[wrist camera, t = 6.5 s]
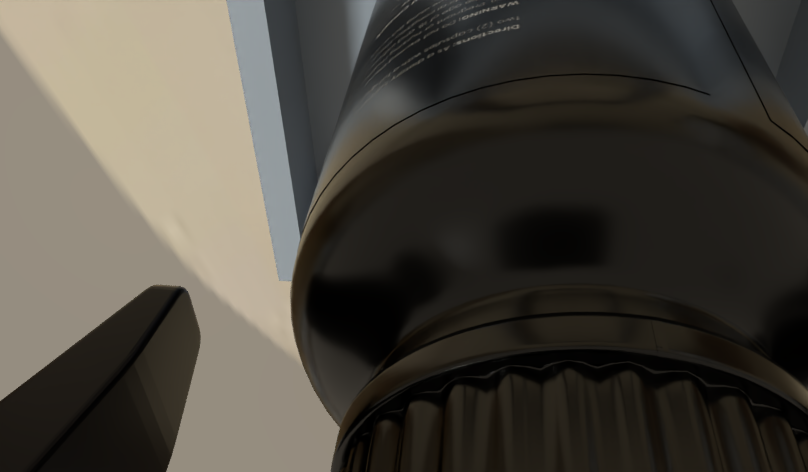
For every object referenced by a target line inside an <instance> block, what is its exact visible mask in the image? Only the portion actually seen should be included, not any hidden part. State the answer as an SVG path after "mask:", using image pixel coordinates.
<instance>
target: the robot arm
mask: <svg viewBox="0 0 808 472" xmlns="http://www.w3.org/2000/svg"><path fill="white" fill-rule="evenodd" d="M200 338H201V336H200V329H199V325H198V322H197V319H196V315H195V312H194V309H193V305H192V302H191V299H190V296H189V293H188V291H187V290H186V289H185V288H184V287H181V286H170V285H153V286H151V287H149V288H148V289H146V290H145V291H143V292H142V293H141V294H140V295H138V296H137V297H135V298H134V299H133V300H132V301H130V302H129V303H128V304H126V305H125V306H124V307H122V308H121V309H120V310H119V311H117V312H116V313H115V314H113V315H112V316H111V317H109V318H108V319H107V320H105V321H104V322H103V323H102V324H100V325H99V326H98V327H96V328H95V329H94V330H93V331H91V332H90V333H88V334H87V335H86V336H85V337H84V338H82V339H81V340H79V341H78V342H77V343H75V344H74V345H73V346H72V347H70V348H69V349H68V350H66V351H65V352H64V353H63V354H61V355H60V356H59V357H57V358H56V359H55V360H53V361H52V362H51V363H50V364H48V365H47V366H45V367H44V368H43V369H42V370H40V371H39V372H38V373H36V374H35V375H34V376H32V377H31V378H30V379H29V380H27V381H26V382H25V383H23V384H22V385H21V386H19V387H18V388H17V389H16V390H14V391H13V392H12V393H10V394H9V395H8V396H6V397H5V398H4V399H2V400H1V401H0V472H166V470H167V468H168V465H169V462H170V459H171V456H172V453H173V449H174V445H175V442H176V438H177V435H178V430H179V427H180V423H181V419H182V414H183V411H184V407H185V403H186V399H187V395H188V391H189V388H190V384H191V380H192V376H193V372H194V368H195V364H196V360H197V356H198V352H199V348H200Z"/></svg>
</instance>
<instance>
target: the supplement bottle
mask: <svg viewBox="0 0 808 472" xmlns="http://www.w3.org/2000/svg"><path fill="white" fill-rule="evenodd" d="M290 298H291V320H292V326H293V332H294V337H295V342H296V345H297V348H298V352H299V355H300V358H301V361H302V364H303V367H304V369H305V372H306V374H307V376H308V378H309V380H310V382H311V385H312V387H313V389H314V391H315V393H316V394H317V396H318V398H319V399H320V401H321V402H322V404H323V406H324V407H325V409H326V411H327V412H328V413H329V415H330V416H331V417H332V418H333V420H334V421H335V422H336V423H337V425H338V426H339V427H340V430H339V433H338V437H337V442H336V446H335V451H334V455H333V461H332V466H331V472H808V136H807V134H806V132H805V130H804V129H803V127H802V125H801V123H800V121H799V120H798V118H797V116H796V114H795V112H794V111H793V109H792V107H791V105H790V103H789V102H788V100H787V98H786V96H785V94H784V93H783V91H782V89H781V87H780V86H779V84H778V82H777V80H776V78H775V77H774V75H773V73H772V71H771V69H770V68H769V66H768V64H767V62H766V60H765V59H764V57H763V55H762V53H761V51H760V50H759V48H758V46H757V44H756V43H755V41H754V39H753V37H752V35H751V34H750V32H749V30H748V28H747V26H746V25H745V23H744V21H743V19H742V17H741V16H740V14H739V12H738V10H737V8H736V7H735V5H734V3H733V1H732V0H376V3H375V6H374V8H373V11H372V14H371V17H370V20H369V23H368V26H367V29H366V33H365V36H364V39H363V42H362V45H361V48H360V51H359V54H358V58H357V61H356V64H355V67H354V70H353V73H352V76H351V80H350V83H349V86H348V89H347V92H346V95H345V98H344V101H343V105H342V108H341V111H340V114H339V117H338V120H337V123H336V127H335V130H334V133H333V136H332V139H331V142H330V145H329V148H328V152H327V155H326V158H325V161H324V164H323V167H322V170H321V174H320V177H319V180H318V183H317V186H316V189H315V192H314V196H313V199H312V202H311V205H310V208H309V211H308V214H307V218H306V221H305V224H304V227H303V231H302V235H301V239H300V242H299V246H298V250H297V256H296V259H295V264H294V269H293V273H292V282H291V291H290Z"/></svg>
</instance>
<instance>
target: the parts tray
mask: <svg viewBox="0 0 808 472" xmlns="http://www.w3.org/2000/svg"><path fill="white" fill-rule="evenodd" d="M226 1H227V6H228V11H229V17H230V22H231V27H232V33H233V38H234V43H235V49H236V54H237V59H238V65H239V70H240V75H241V81H242V86H243V91H244V97H245V102H246V107H247V113H248V118H249V123H250V129H251V134H252V139H253V145H254V150H255V155H256V161H257V166H258V171H259V176H260V182H261V187H262V192H263V198H264V203H265V208H266V214H267V219H268V224H269V230H270V235H271V240H272V246H273V251H274V256H275V262H276V267H277V272H278V278H279V281H292V273H293V269H294V264H295V259H296V256H297V250H298V246H299V242H300V239H301V235H302V231H303V227H304V224H305V221H306V218H307V214H308V211H309V208H310V205H311V202H312V199H313V196H314V192H315V189H316V186H317V183H318V180H319V177H320V174H321V170H322V167H323V164H324V161H325V158H326V155H327V152H328V148H329V145H330V142H331V139H332V136H333V133H334V130H335V127H336V123H337V120H338V117H339V114H340V111H341V108H342V105H343V101H344V98H345V95H346V92H347V89H348V86H349V83H350V80H351V76H352V73H353V70H354V67H355V64H356V61H357V58H358V54H359V51H360V48H361V45H362V42H363V39H364V36H365V33H366V29H367V26H368V23H369V20H370V17H371V14H372V11H373V8H374V6H375V3H376V0H226ZM732 1H733V3H734V5H735V7H736V8H737V10H738V12H739V14H740V16H741V17H742V19H743V21H744V23H745V25H746V26H747V28H748V30H749V32H750V34H751V35H752V37H753V39H754V41H755V43H756V44H757V46H758V48H759V50H760V51H761V53H762V55H763V57H764V59H765V60H766V62H767V64H768V66H769V68H770V69H771V71H772V73H773V75H774V77H775V78H776V80H777V82H778V84H779V86H780V87H781V89H782V91H783V93H784V94H785V96H786V98H787V100H788V102H789V103H790V105H791V107H792V109H793V111H794V112H795V114H796V116H797V118H798V120H799V121H800V123H801V125H802V127H803V129H804V130H805V132H806V134H807V136H808V0H732Z"/></svg>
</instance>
